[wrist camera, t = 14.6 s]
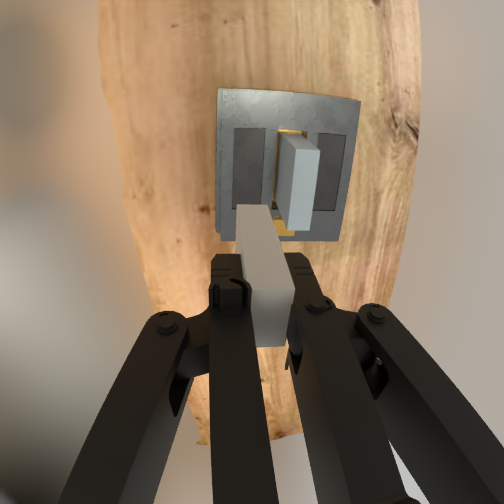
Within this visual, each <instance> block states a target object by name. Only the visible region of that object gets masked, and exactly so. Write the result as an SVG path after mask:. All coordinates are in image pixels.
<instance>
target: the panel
mask: <svg viewBox="0 0 504 504" xmlns="http://www.w3.org/2000/svg"><path fill="white" fill-rule="evenodd" d="M319 158H320V150H319V149H318V148H317V147H316V146H314V145H313V144H312V143H311V142H309V141H308V140H307V139H306V138H304V137H303V136H302V135H301V134H299V133H298V132H289V131H278V142H277V155H276V168H275V180H274V192H273V196H274V199H275V201H276V204H277V206H278V209H279V211H280V214H281V216H282V219H283V221H284V224H285V226H286V229H287V230H303V231H309V230H310V223H311V217H312V210H313V203H314V196H315V188H316V181H317V173H318V166H319Z"/></svg>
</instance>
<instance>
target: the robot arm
mask: <svg viewBox="0 0 504 504" xmlns="http://www.w3.org/2000/svg"><path fill="white" fill-rule="evenodd" d="M235 253H236V254H216V255H215V257H214V258H213V259H212V261H211V284H210V286H209V289H208V290H209V306H208V308H207V309H206V310H205V311H204V312H202V313H201V314H199V315H196V316H193V317H189V318H185V317H184V316H183V315H182V314H180V313H178V312H175V311H162V312H158V313H156V314H154V315H153V316H151V317H150V318H149V319H148V321H147V322H146V324H145V326H144V327H143V329H142V331H141V333H140V335H139V336H138V338H137V340H136V342H135V344H134V346H133V348H132V349H131V352H130V353H129V355H128V357H127V359H126V361H125V363H124V364H123V366H122V368H121V370H120V372H119V374H118V376H117V378H116V380H115V382H114V384H113V386H112V388H111V389H110V392H109V393H108V395H107V397H106V399H105V401H104V403H103V405H102V408H101V409H100V411H99V413H98V416H97V417H96V419H95V422H94V424H93V426H92V428H91V430H90V432H89V434H88V436H87V438H86V440H85V443H84V445H83V447H82V449H81V451H80V454H79V456H78V458H77V460H76V462H75V464H74V467H73V469H72V471H71V473H70V476H69V478H68V480H67V483H66V485H65V487H64V489H63V492H62V494H61V496H60V499H59V501H58V504H153V502H154V499H155V496H156V493H157V489H158V486H159V483H160V480H161V477H162V474H163V471H164V468H165V465H166V462H167V459H168V455H169V453H170V449H171V446H172V443H173V440H174V437H175V434H176V431H177V428H178V425H179V422H180V419H181V416H182V413H183V410H184V407H185V404H186V401H187V398H188V395H189V392H190V389H191V386H192V383H193V380H194V377H196V376H200V375H203V374H207V373H209V400H210V441H211V468H212V489H213V504H279V500H278V494H277V488H276V481H275V474H274V467H273V461H272V454H271V447H270V440H269V434H268V427H267V420H266V413H265V406H264V399H263V392H262V385H261V378H260V371H259V364H258V357H257V350H256V347H277V346H285V343H286V338H287V340H288V344H289V348H288V353H287V358H286V363H285V370H288V366H289V367H290V371H291V376H292V381H293V385H294V390H295V395H296V399H297V404H298V409H299V413H300V418H301V423H302V428H303V432H304V437H305V442H306V447H307V451H308V456H309V461H310V466H311V471H312V476H313V481H314V485H315V491H316V495H317V500H318V504H421V503H420V502H419V501H417V500H416V499H413V498H411V497H409V496H408V494H407V493H406V491H405V488H404V485H403V482H402V479H401V476H400V473H399V470H398V467H397V464H396V461H395V458H394V455H393V452H392V449H391V446H390V443H391V444H392V446H393V448H394V449H395V451H396V452H397V454H398V455H399V457H400V458H401V459H402V461H403V463H404V464H405V466H406V467H407V469H408V471H409V472H410V474H411V475H412V477H413V478H414V479H415V481H416V483H417V484H418V486H419V487H420V489H421V490H422V492H423V494H424V495H425V497H426V498H427V500H428V501H429V503H430V504H504V448H503V446H502V444H501V443H500V442H499V440H498V439H497V438H496V437H495V435H494V434H493V433H492V431H491V430H490V429H489V428H488V426H487V425H486V423H485V422H484V421H483V419H482V418H481V417H480V416H479V415H478V413H477V412H476V410H475V409H474V408H473V407H472V405H471V404H470V403H469V402H468V400H467V399H466V398H465V397H464V396H463V394H462V393H461V392H460V391H459V389H458V388H457V387H456V386H455V384H454V383H453V382H452V381H451V380H450V379H449V377H448V376H447V375H446V374H445V373H444V371H443V370H442V369H441V368H440V367H439V365H438V364H437V363H436V362H435V361H434V360H433V358H432V357H431V356H430V355H429V354H428V353H427V352H426V350H425V349H424V348H423V347H422V346H421V345H420V344H419V342H418V341H417V340H416V339H415V338H414V337H413V336H412V335H411V333H410V332H409V331H408V330H407V329H406V328H405V327H404V326H403V324H402V323H401V322H400V321H399V320H398V319H397V318H396V317H395V316H394V315H393V313H392V312H391V311H389V310H388V309H387V308H386V307H384V306H382V305H379V304H374V303H369V304H365V305H363V306H361V307H360V309H359V311H358V313H356V312H351V311H345V310H341V309H338V308H336V306H335V304H334V303H333V301H332V300H331V299H329V298H328V297H326V296H324V295H323V293H322V291H321V288H320V286H319V284H318V281H317V279H316V277H315V275H314V272H313V269H312V268H311V265H310V262H309V260H308V259H307V258H306V257H305V256H304V255H303V254H302V253H283V250H282V247H281V244H280V241H279V238H278V235H277V232H276V229H275V226H274V223H273V220H272V217H271V214H270V211H269V208H268V205H249V204H237V215H236V249H235ZM378 358H379V359H378ZM388 440H389V441H390V443H389V441H388Z"/></svg>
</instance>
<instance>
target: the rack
mask: <svg viewBox="0 0 504 504" xmlns="http://www.w3.org/2000/svg"><path fill="white" fill-rule="evenodd" d="M360 105H361V101H358V100H354V99H348V98H342V97H335V96H328V95H320V94H312V93H303V92H292V91H281V90H266V89H245V88H218V106H217V149H216V232H221V241H236V215H237V204H249V205H268V208H269V211H270V214H271V217H272V220H273V223H274V226H275V229H276V232H277V235H278V238H279V241H338V239H339V235H340V230H341V225H342V220H343V214H344V209H345V204H346V198H347V193H348V187H349V181H350V175H351V169H352V163H353V156H354V150H355V143H356V136H357V129H358V121H359V113H360ZM278 131H289V132H298V133H299V134H301V135H302V136H303V137H304V138H306V139H307V140H308V141H309V142H311V143H312V144H313V145H314V146H316V147H317V148H318V149H319V150H320V158H319V166H318V173H317V181H316V188H315V196H314V203H313V210H312V217H311V223H310V230H309V231H303V230H287V229H286V226H285V224H284V221H283V219H282V216H281V214H280V211H279V209H278V206H277V204H276V201H275V199H274V196H273V192H274V180H275V168H276V155H277V142H278Z"/></svg>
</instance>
